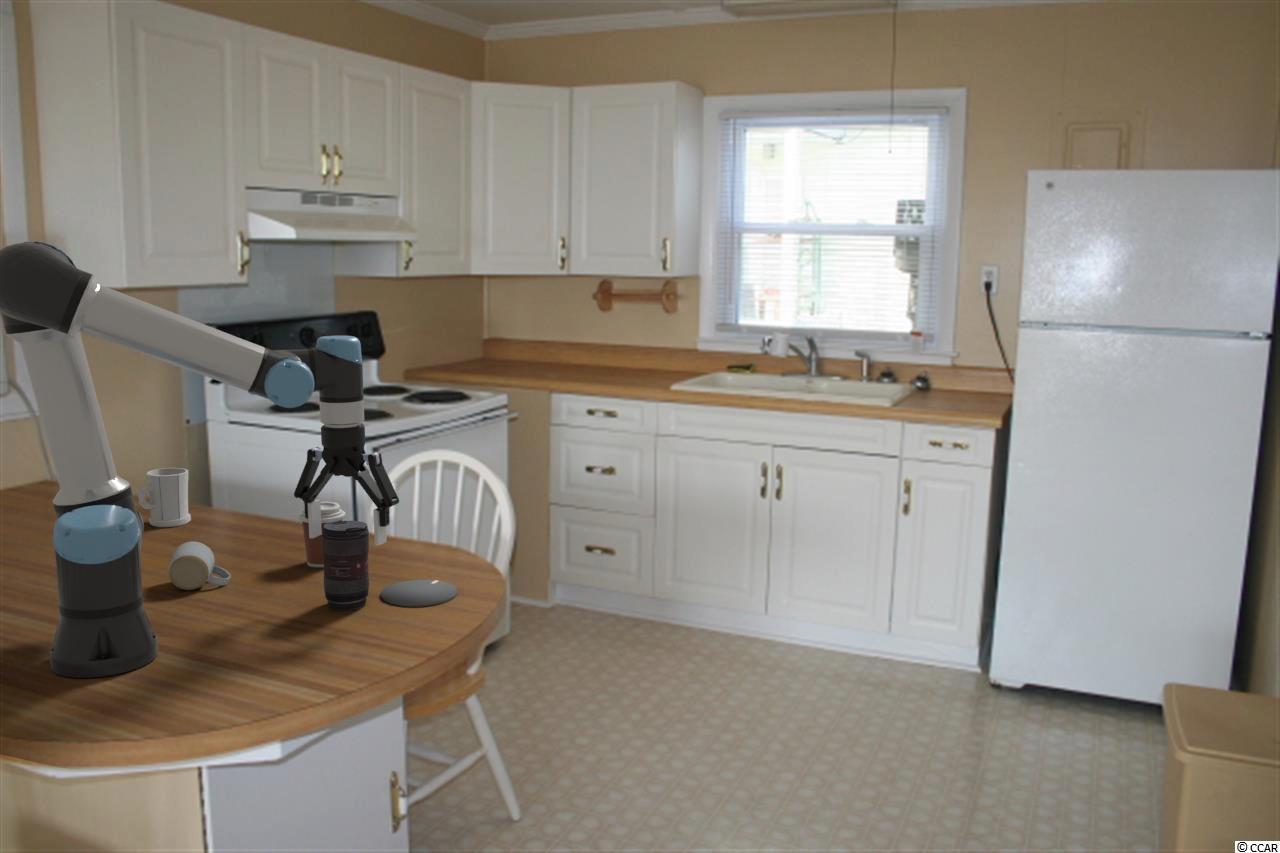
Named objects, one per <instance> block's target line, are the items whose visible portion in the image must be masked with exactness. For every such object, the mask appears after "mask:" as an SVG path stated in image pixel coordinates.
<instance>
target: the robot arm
mask: <svg viewBox="0 0 1280 853" xmlns="http://www.w3.org/2000/svg"><path fill="white" fill-rule="evenodd" d="M0 316H1V320H2V325H3V327H4V329H5V330H4V331H5V335H6V337H8V338H10V339H11V340H14V341H15V342H16V343H18V344H19V345H20V348H21V352H22V355H23V359H24V363H25V366H26V369H27V374H28V377H29V380H30V383H31V387H32V391H33V395H34V398H35V399H34V400H35V402H36V407H37V409H38V413H39V414H38V415H39V417H40V420H41V423H42V427H43V432H44V435H45V438H46V442H47V446H48V450H49V453H50V456H51V460H52V464H53V468H54V471H55V475H56V479H57V482H58V486H59V490H58V492H57V493H56V495H55V496H54V498H53V499H52V504H53V508H54V511H55V515H56V518H57V520H55V523H54V527H53V536H52V544H53V548H54V551H55V566H56V568H55V569H56V579H57V580H56V581H57V595H58V596H57V597H58V608H59V610H58V611H59V619H58V620H59V621H58V623H57V627H56V632H55V637H54V642H53V645H52V646H51V648H50V652H49V660H50V661H49V663H50V669H51V671H52V672H53V673H55V674H56V675H60V676H63V677H66V678H67V677H68V678H76V679H81V678H82V679H83V678H84V679H86V678H87V679H88V678H89V679H90V678H100V677H109V676H110V677H111V676H114V675H118V674H124V673H126V672H127V673H128V672H130V671H133V670H136V669H139V668H142V667H144V666H146V665H148V664H149V663H151V662H152V661H154V660H155V659H156V658H157V657H158V655H159V646H158V637H157V636H156V633H155V632H153V629H152V625H151V622H150V620H149V618H148V615H147V613H146V611H145V608H144V601H143V600H144V599H143V585H142V580H143V579H142V567H141V565H142V564H141V551H142V541H143V538H144V530H145V528H144V520H143V517H142V514H141V513H140V512H139V509H138V508H137V507H136V501H135V499H134V495H133V491H132V488H131V483H130V482H129V481H127V480H126V479H125V478H122V477H120V476H119V475H118V473H117V469H116V466H115V461H114V458H113V454H112V450H111V447H110V443H109V439H108V435H107V432H106V428H105V424H104V420H103V417H102V412H101V408H100V404H99V401H98V397H97V393H96V389H95V385H94V381H93V378H92V373H91V369H90V366H89V362H88V358H87V356H86V351H85V347H84V342H83V340H82V333H83V334H86V335H89V336H92V337H94V338H97V339H100V340H103V341H106V342H108V343H110V344H111V343H112V344H114V345H117V346H120V347H123V348H126V349H129V350H132V351H134V352H137V353H140V354H143V355H146V356H148V357H151V358H153V359H156V360H160V361H161V362H165V363H167V364H169V365H173V366H176V367H179V368H181V369H184V370H187V371H190V372H192V373H196V374H199V375H201V376H204V377H206V378H210V379H212V380H215V381H218V382H221V383H224V384H227V385H230V386H233V387H234V388H237V389H240V390H242V391H246V392H247V393H248V394H250V395H253V396H254V395H255V396H259V397H262V398H263V399H266V400H267V399H268V400H269V401H270V402H272V403H273V404H275V405H277V406H279V407H282V408H287V409H293V408H294V409H295V408H298V407H300V406H302V405H304V404H305V403H307V402H308V401H309V400H310V398H311V397H312V396H313V394H314V393H315V392H316V393H317V392H318V394H319V422H320V423H321V424H323V425H321V427H320V437H321V438H320V439H321V445H322V447H323V449H321V447H319V446H316V447H313V448H309V449H307V452H306V462H305V465H304V467H303V469H302V472H301V475H300V477H299V480H298V483H297V484H296V487H295V490H294V493H293V496H294V498H296V499H300V500H302V502H303V504H304V505H303V506H305V517H306V519H308V520H309V538H315V537H317V536H320V535H322V528H321V507H320V502H321V500H320V499H318V498H319V497H318V496H319V494H320V493H321V492H322V491H323V489H324V488H325V486H326V485H327V484H328V482H329V481H330V480H331V479H332V477H333V475H334V477H339V476H343V477H347V478H351V477H352V478H353V479H354V480H355V481H357V483H358V484H359V485H360V486H361V488H362V489H363V490H364V492H365V493H366V494H367V496H368V498H370V500H371V501H372V503H373V504H374V506H376V508H373V530H374V531H373V533H374V534H373V536H374V546H377V547H378V546H381V545H383V544H385V543H387V541H388V540H387V526H389V525H390V522H391V521H390V519H391V518H390V508H391V507H393V506H396V505H398V504H399V503H400V499H399V496H398V495H397V493H396V490H395V489H394V486H393V484H392V482H391V479H390V477H389V475H388V473H387V471H386V468H385V466H384V465H383V458H382V453H381V452H380V451H376V452H373V453H366V450H365V445H366V426H365V425H364V423H363V422H364V421H365V401H364V375H363V374H364V372H363V364H364V361H363V356H362V346H361V341H360V340H359V338H358V337H356V336H353V335H325V336H320V337H317V339H316V345H315V347H312V348H308V349H269V348H267V347H264V346H262V345H259V344H257V343H253V342H252V341H251V342H250V341H248V340H246V339H243V338H240V337H237V336H235V335H233V334H230V333H227V332H224V331H222V330H220V329H218V328H214V327H211V326H210V325H206V324H203V323H202V322H199V321H197V320H193V319H191V318H189V317H186V316H183V315H180V314H179V313H175V312H172V311H170V310H168V309H165V308H163V307H159V306H156V305H154V304H152V303H150V302H146V301H143V300H141V299H138V298H136V297H134V296H131V295H127V294H126V293H124V292H120V291H117V290H115V289H112V288H110V287H107V286H104V285H102V284H100V282H99V280H98V278H97V277H96V275H95V274H92V273H89V272H88V271H87V272H86V271H84V270H82V269H79V268H78V267H77V266H76V265H75V263H74V261H73V260H72V258H70V256H69V254H67V253H65V251H63V250H62V249H60V248H58V247H57V246H55V245H52V244H50V243H46V242H42V241H37V240H36V241H24V242H20V243H13V244H10V245H6V246H4V247H3V248H0ZM321 460H323V461H324V463H325V465H324V466H323V467H322V469H321V470H320V473H319V475H318V476H317V477H316V479H315V480H314V478H315V476H316V473H317V472H318V471H317V470H318V469H319V465H320V463H321ZM365 463H366V465H367V466H369V467H368V468H369V469H368V468H367V466H366V465H365ZM370 473H371V474H370ZM313 480H314V482H313Z"/></svg>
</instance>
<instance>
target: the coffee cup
mask: <svg viewBox="0 0 1280 853" xmlns="http://www.w3.org/2000/svg"><path fill="white" fill-rule="evenodd" d="M303 506H304V507H303V510H302V511H301V512H300V513H299V514H298V519H299V521H300V522H302V532H303V539H304V540H303V541H304V546H305V555H306V564H307V566H308V567H312V568H324V555H323V545H322V535H320V536H317V537H315V538H309V520H308V519H306V517H305V505H303ZM320 507H321V528H322V532H323V527H324V525H325V524H328V523H331V522H337V521H343V519H345V518H346V512H345V511H344V510H342V509H341V505H340V504H339V503H338V502H333V501H320Z"/></svg>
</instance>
